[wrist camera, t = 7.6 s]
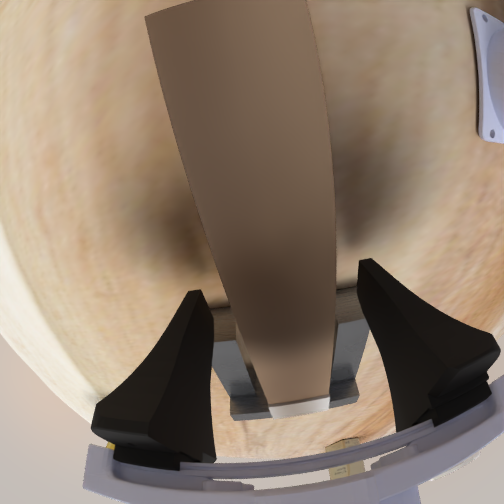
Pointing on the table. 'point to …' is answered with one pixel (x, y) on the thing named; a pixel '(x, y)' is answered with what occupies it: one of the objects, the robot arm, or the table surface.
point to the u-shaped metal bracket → (244, 375)
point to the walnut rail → (259, 178)
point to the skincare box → (348, 468)
